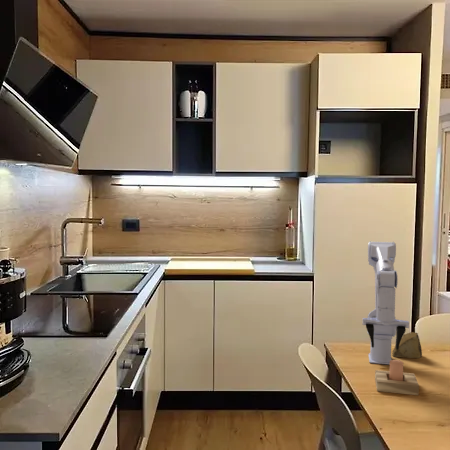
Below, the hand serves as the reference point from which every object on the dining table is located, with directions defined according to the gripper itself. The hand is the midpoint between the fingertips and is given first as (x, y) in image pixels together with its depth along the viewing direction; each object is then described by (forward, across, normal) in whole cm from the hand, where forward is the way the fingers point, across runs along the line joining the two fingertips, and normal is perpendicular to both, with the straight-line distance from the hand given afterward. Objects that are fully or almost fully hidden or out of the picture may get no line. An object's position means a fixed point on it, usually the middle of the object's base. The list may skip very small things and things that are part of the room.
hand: (384, 347), depth 158 cm
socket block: (+10, +3, -8) cm, 13 cm away
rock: (+10, +10, +24) cm, 28 cm away
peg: (+10, +3, -8) cm, 13 cm away
